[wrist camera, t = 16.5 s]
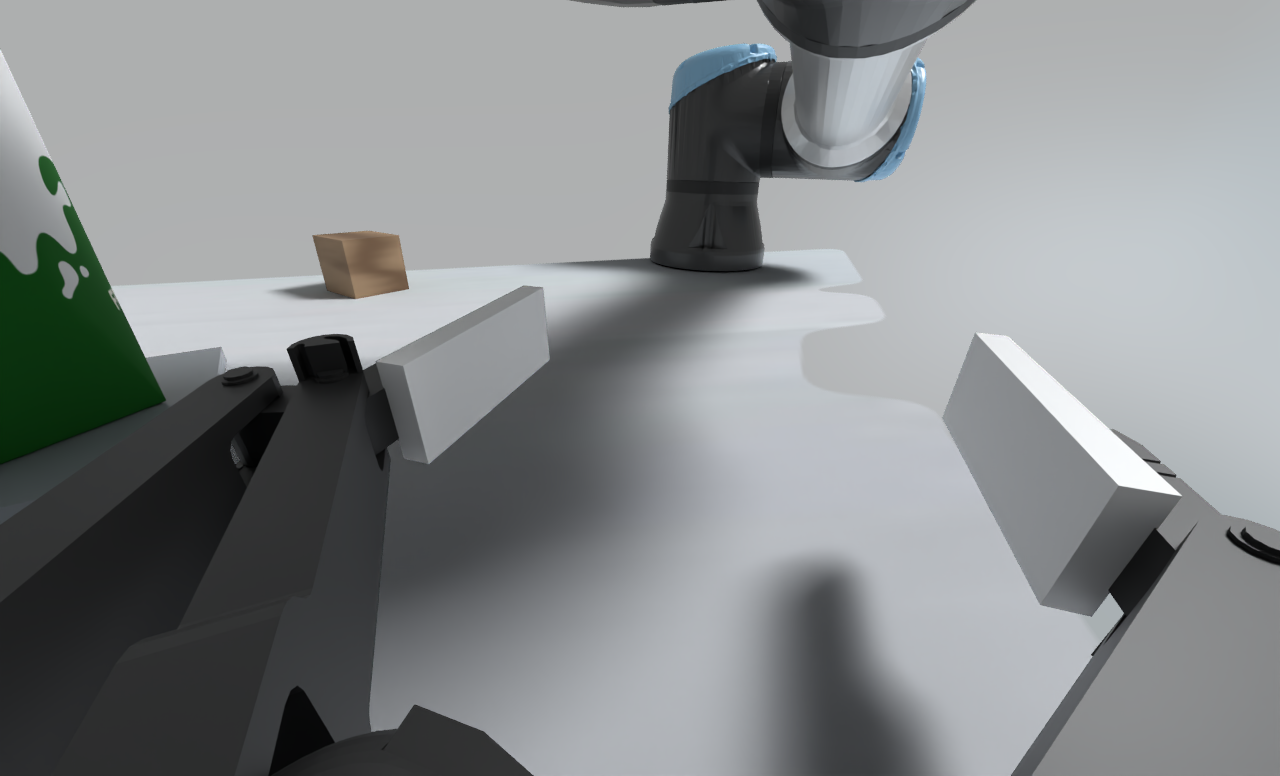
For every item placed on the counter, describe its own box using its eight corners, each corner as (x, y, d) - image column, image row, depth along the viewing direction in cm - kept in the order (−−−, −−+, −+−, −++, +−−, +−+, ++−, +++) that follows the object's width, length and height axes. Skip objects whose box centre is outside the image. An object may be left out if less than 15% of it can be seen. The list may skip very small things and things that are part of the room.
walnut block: (379, 282, 46) (368, 230, 44) (409, 289, 44) (398, 235, 42) (327, 291, 42) (312, 235, 40) (356, 299, 40) (341, 240, 38)
